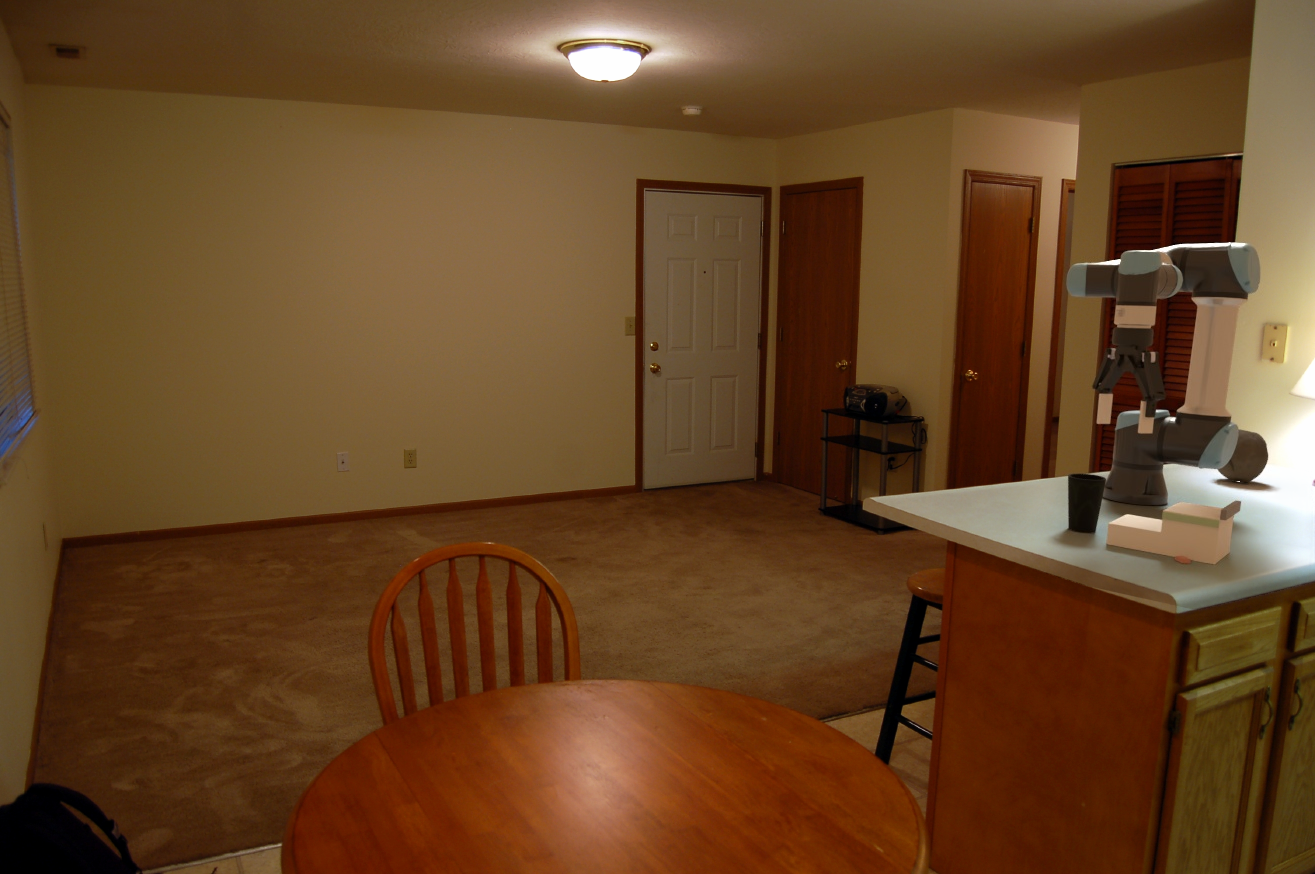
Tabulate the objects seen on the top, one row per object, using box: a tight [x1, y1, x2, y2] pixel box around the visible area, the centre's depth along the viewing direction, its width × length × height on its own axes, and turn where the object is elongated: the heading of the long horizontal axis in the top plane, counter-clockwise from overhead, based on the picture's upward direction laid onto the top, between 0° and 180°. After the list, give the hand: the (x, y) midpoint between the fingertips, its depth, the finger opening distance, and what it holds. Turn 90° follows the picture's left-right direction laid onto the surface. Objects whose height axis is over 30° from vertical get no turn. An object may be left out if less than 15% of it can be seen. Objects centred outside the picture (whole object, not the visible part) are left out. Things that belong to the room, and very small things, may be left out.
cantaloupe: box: [1216, 428, 1269, 483], centre depth 265 cm, size 14×14×15 cm
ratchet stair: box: [1106, 499, 1242, 565], centre depth 189 cm, size 16×21×11 cm
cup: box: [1067, 473, 1107, 534], centre depth 205 cm, size 8×8×12 cm
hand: (1123, 428), depth 195 cm, fingers open, 13 cm apart
